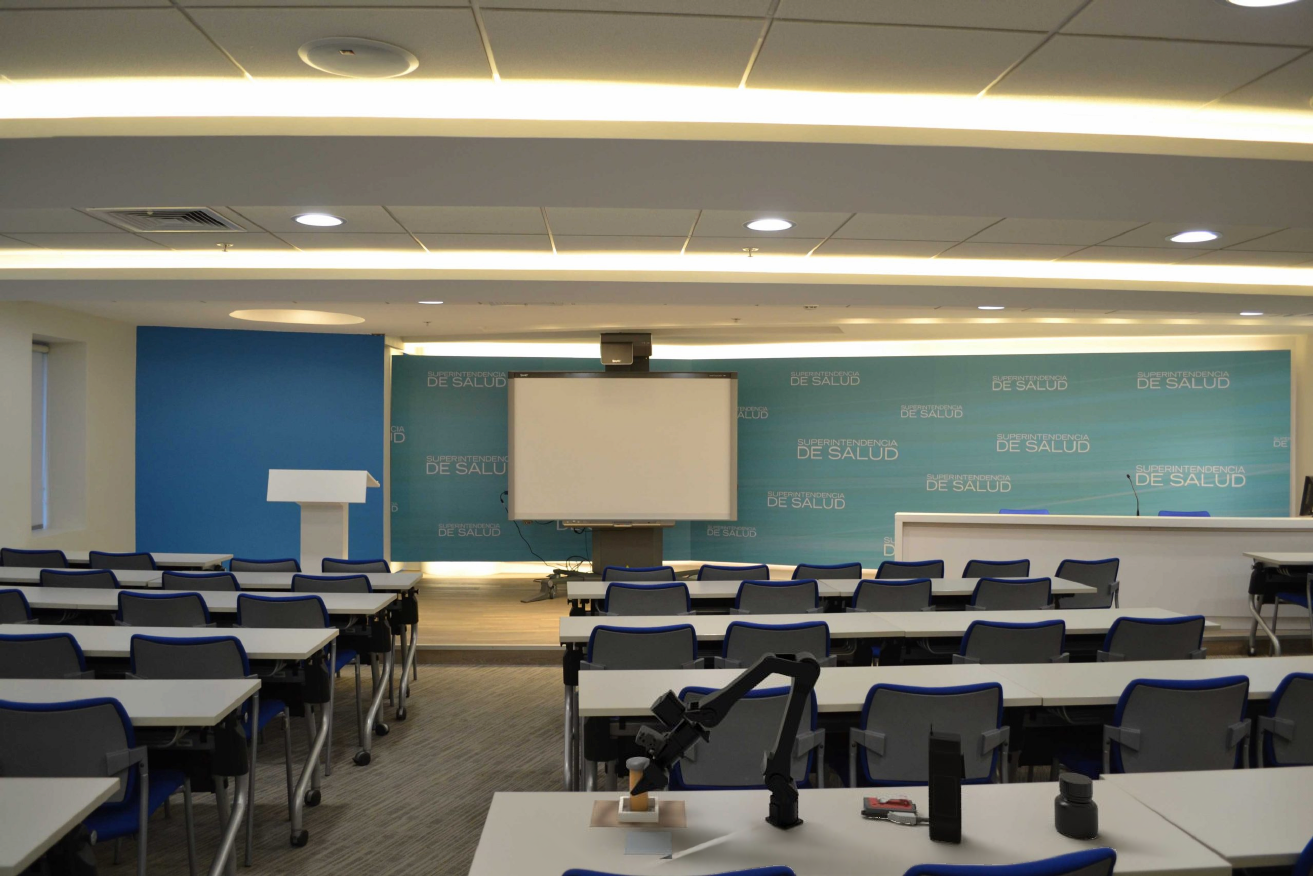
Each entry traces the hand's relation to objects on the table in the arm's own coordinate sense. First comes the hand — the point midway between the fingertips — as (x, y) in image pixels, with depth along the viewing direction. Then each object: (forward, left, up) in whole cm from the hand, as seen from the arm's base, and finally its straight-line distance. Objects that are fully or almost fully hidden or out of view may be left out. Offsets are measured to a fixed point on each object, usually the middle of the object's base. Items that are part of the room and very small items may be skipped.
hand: (633, 787), depth 188 cm
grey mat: (+6, +14, -7) cm, 17 cm away
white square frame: (-1, +1, -7) cm, 7 cm away
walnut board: (-1, +1, -7) cm, 7 cm away
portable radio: (-51, +50, -7) cm, 72 cm away
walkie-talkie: (-52, +38, -8) cm, 65 cm away
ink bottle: (-77, +66, -7) cm, 102 cm away
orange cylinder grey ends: (-1, +1, -6) cm, 6 cm away
